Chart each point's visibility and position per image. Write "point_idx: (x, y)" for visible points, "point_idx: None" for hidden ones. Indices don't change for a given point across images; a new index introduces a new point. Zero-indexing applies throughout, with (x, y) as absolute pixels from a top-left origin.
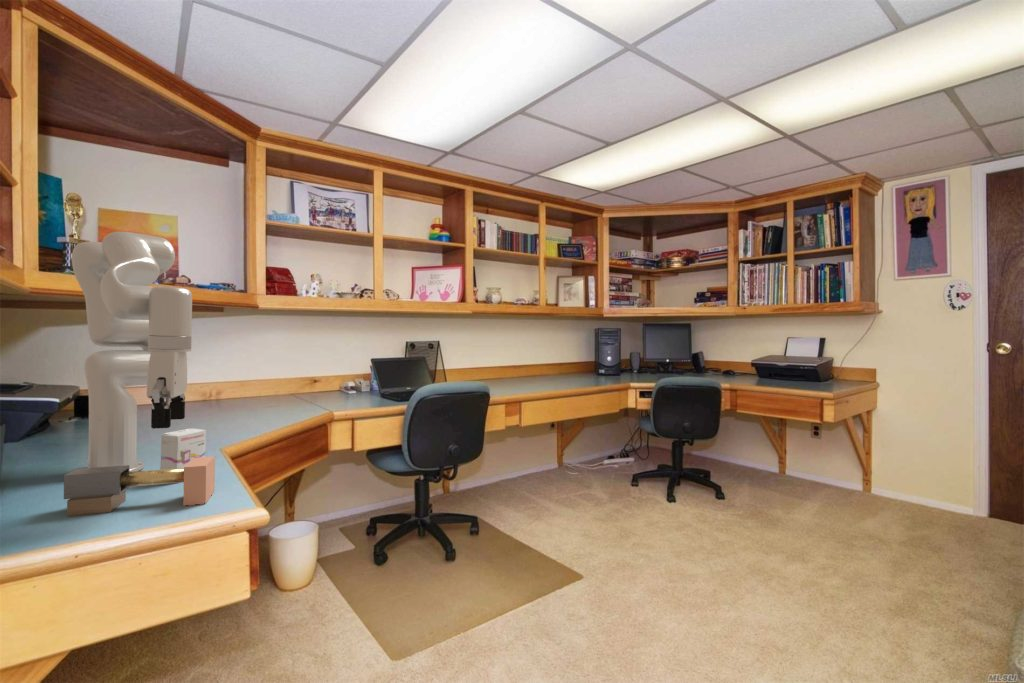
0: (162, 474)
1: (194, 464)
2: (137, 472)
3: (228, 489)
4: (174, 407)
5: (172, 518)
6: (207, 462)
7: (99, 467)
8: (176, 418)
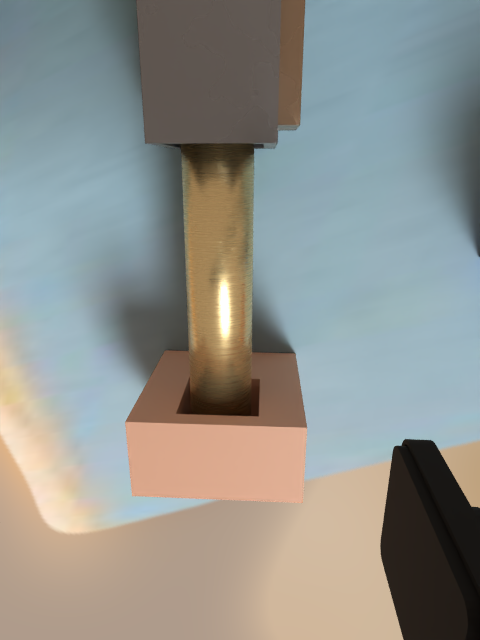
0: (189, 313)
1: (167, 451)
2: (202, 207)
3: (310, 445)
4: (425, 604)
5: (55, 346)
6: (191, 492)
7: None
8: (385, 510)
